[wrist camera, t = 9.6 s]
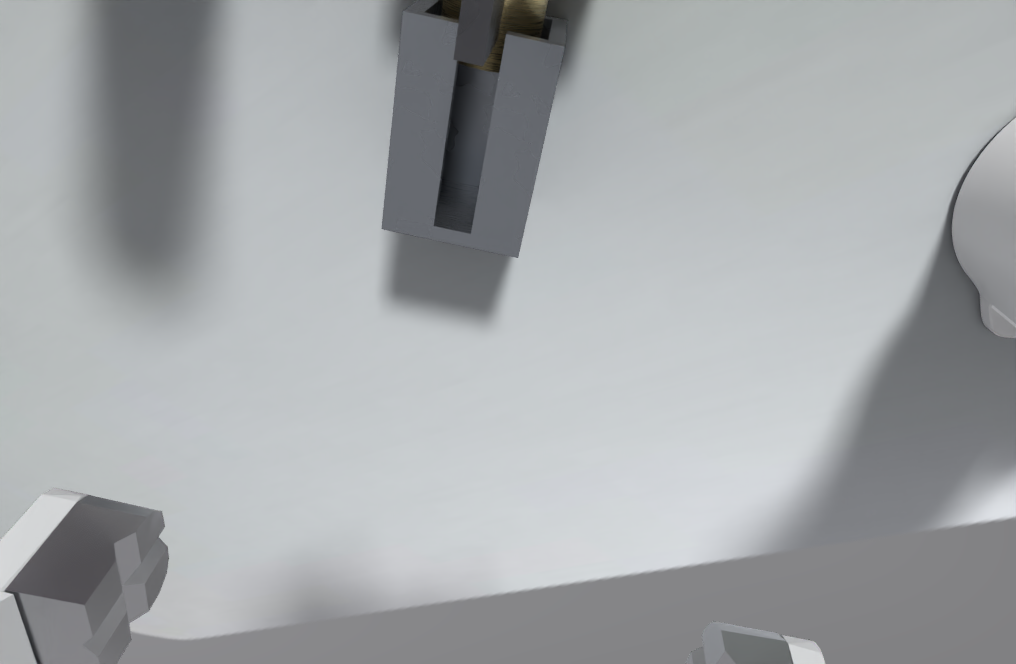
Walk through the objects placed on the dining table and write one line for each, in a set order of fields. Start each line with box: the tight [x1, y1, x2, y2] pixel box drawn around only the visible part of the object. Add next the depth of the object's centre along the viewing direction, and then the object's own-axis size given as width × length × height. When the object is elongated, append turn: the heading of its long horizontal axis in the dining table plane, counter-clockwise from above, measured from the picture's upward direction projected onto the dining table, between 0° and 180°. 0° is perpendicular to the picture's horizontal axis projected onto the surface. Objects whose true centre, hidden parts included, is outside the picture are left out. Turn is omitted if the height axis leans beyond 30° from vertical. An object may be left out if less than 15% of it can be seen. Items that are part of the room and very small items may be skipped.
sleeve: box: [382, 0, 568, 258], centre depth 37 cm, size 7×11×7 cm
